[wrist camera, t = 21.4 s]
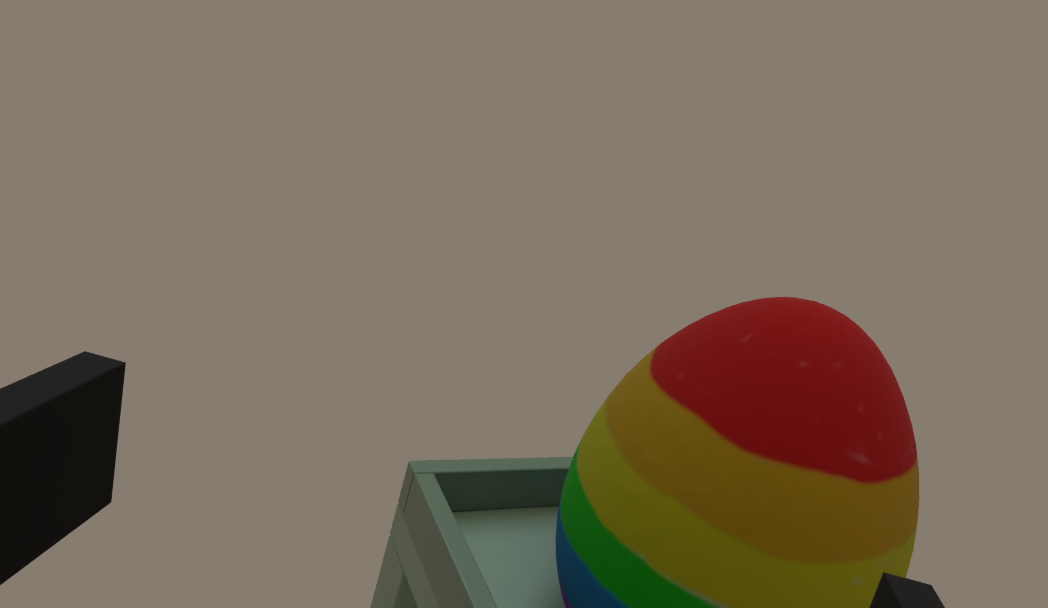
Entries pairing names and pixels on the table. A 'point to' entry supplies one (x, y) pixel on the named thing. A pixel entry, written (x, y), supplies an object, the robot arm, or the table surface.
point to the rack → (475, 535)
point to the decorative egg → (744, 470)
